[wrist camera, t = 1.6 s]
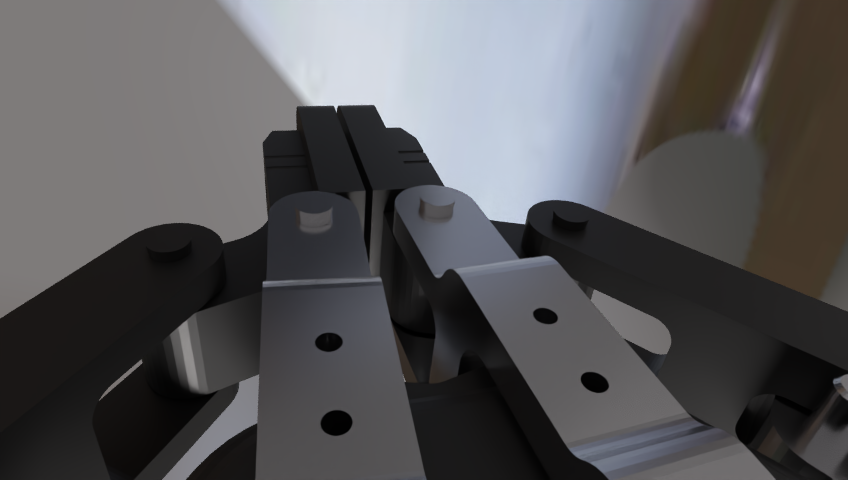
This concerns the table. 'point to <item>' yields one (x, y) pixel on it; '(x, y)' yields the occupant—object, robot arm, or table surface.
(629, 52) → the table surface
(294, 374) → the robot arm
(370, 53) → the table surface
